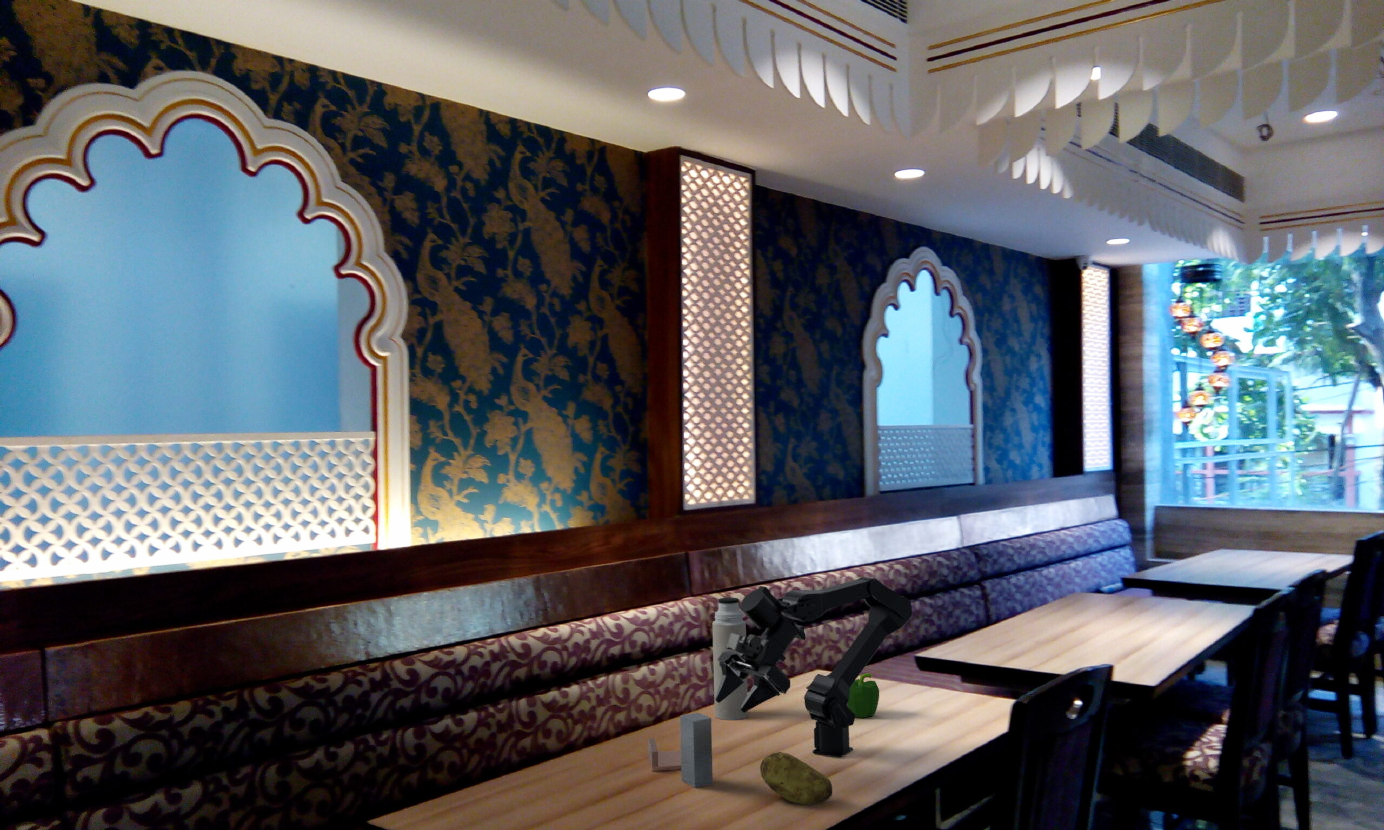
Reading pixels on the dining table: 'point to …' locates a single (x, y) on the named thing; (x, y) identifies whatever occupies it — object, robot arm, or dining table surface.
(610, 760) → the dining table surface
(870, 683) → the bell pepper
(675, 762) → the plate
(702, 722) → the block
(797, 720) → the dining table surface
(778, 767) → the potato
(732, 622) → the thermos bottle
